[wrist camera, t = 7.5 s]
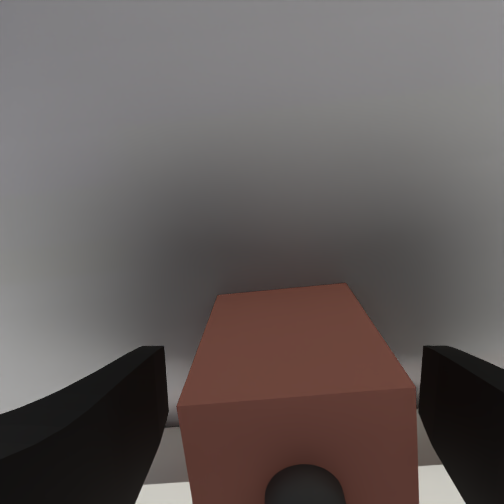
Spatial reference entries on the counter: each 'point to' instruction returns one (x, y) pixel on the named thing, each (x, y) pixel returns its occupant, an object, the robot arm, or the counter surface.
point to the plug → (297, 404)
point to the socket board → (179, 495)
